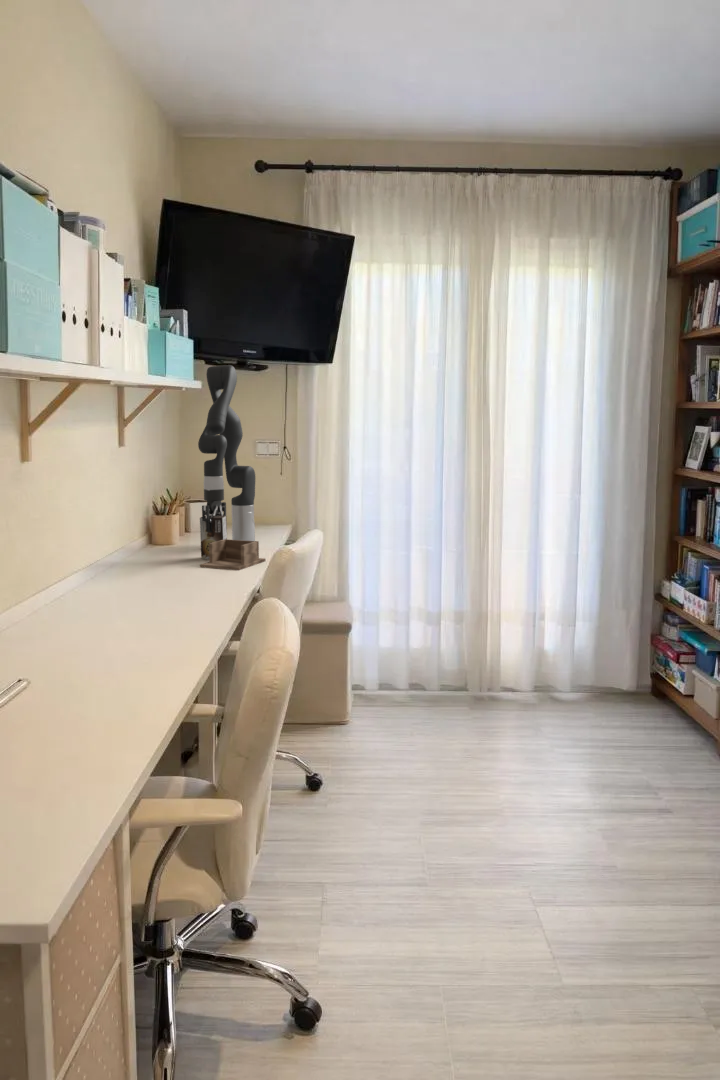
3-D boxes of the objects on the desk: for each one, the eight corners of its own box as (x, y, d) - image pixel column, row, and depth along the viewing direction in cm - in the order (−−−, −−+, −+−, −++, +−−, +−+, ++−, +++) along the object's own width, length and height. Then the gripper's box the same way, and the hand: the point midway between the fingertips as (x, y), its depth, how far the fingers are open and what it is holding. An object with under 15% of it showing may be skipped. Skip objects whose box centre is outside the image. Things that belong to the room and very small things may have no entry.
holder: (228, 558, 343) (227, 537, 341) (265, 561, 337) (265, 540, 336) (200, 567, 324) (199, 545, 323) (239, 570, 318) (238, 547, 317)
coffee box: (228, 556, 346) (227, 515, 344) (223, 559, 340) (222, 517, 338) (205, 556, 347) (204, 514, 345) (200, 559, 341) (199, 517, 339)
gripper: (214, 486, 348) (215, 528, 350) (195, 489, 334) (196, 532, 337) (231, 486, 345) (232, 529, 347) (212, 489, 332) (213, 534, 334)
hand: (214, 530), depth 342 cm, fingers closed on coffee box, 7 cm apart
